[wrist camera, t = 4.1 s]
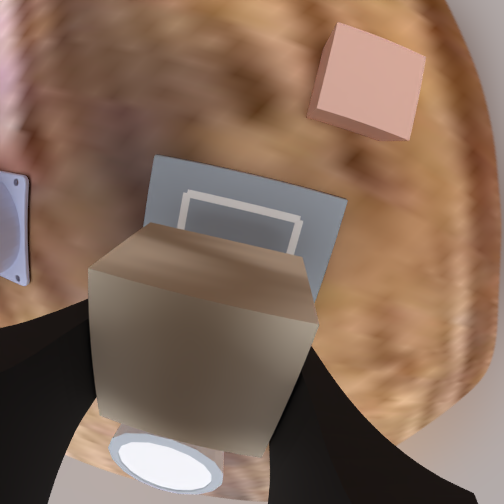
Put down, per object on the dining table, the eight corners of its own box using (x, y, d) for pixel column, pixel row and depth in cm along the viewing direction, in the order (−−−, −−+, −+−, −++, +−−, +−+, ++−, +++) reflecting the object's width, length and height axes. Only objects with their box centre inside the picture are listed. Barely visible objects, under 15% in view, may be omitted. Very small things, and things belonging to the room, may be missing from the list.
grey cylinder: (172, 338, 19) (137, 417, 13) (255, 393, 20) (249, 476, 14) (127, 388, 21) (93, 456, 15) (199, 433, 22) (183, 503, 16)
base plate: (139, 302, 19) (135, 307, 18) (158, 154, 16) (154, 154, 15) (297, 342, 19) (298, 348, 18) (345, 198, 16) (347, 200, 15)
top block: (305, 117, 15) (316, 108, 11) (322, 49, 14) (337, 21, 10) (378, 140, 15) (409, 140, 11) (393, 73, 14) (425, 57, 10)
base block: (140, 344, 12) (99, 415, 8) (150, 222, 10) (88, 267, 6) (264, 374, 12) (261, 457, 8) (302, 257, 10) (319, 324, 6)
